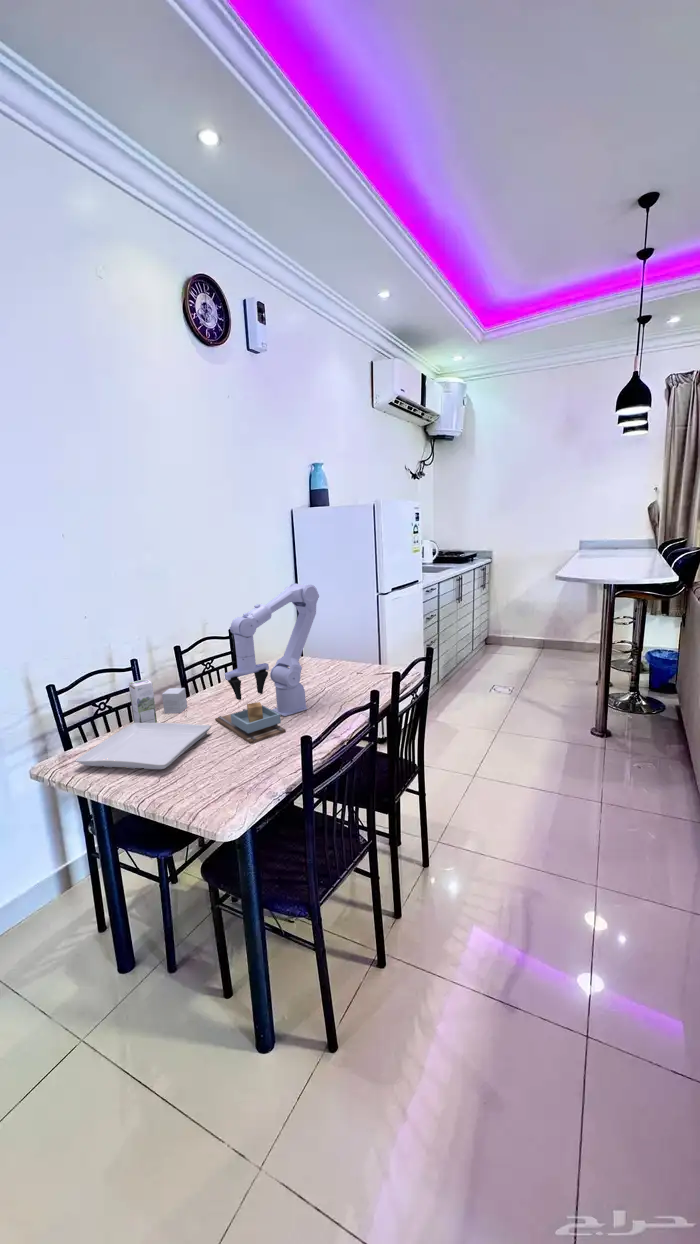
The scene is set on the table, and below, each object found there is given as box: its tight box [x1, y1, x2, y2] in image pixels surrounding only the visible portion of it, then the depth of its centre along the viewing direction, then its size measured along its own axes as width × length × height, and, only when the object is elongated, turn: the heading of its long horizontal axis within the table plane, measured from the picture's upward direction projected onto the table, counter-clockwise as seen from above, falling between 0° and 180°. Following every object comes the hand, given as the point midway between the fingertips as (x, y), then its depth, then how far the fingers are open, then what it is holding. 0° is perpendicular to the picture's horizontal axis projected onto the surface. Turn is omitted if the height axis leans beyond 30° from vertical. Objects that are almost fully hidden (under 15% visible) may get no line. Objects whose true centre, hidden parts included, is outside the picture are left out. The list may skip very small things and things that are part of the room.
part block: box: [246, 701, 263, 723], centre depth 157 cm, size 4×4×5 cm
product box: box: [161, 687, 188, 714], centre depth 179 cm, size 6×6×7 cm
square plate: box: [75, 722, 212, 770], centre depth 147 cm, size 27×27×4 cm
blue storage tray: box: [230, 704, 282, 735], centre depth 158 cm, size 11×11×4 cm
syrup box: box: [128, 678, 158, 723], centre depth 168 cm, size 6×6×14 cm
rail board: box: [214, 708, 287, 745], centre depth 162 cm, size 12×25×1 cm, turn 38°
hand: (249, 696), depth 162 cm, fingers open, 7 cm apart
